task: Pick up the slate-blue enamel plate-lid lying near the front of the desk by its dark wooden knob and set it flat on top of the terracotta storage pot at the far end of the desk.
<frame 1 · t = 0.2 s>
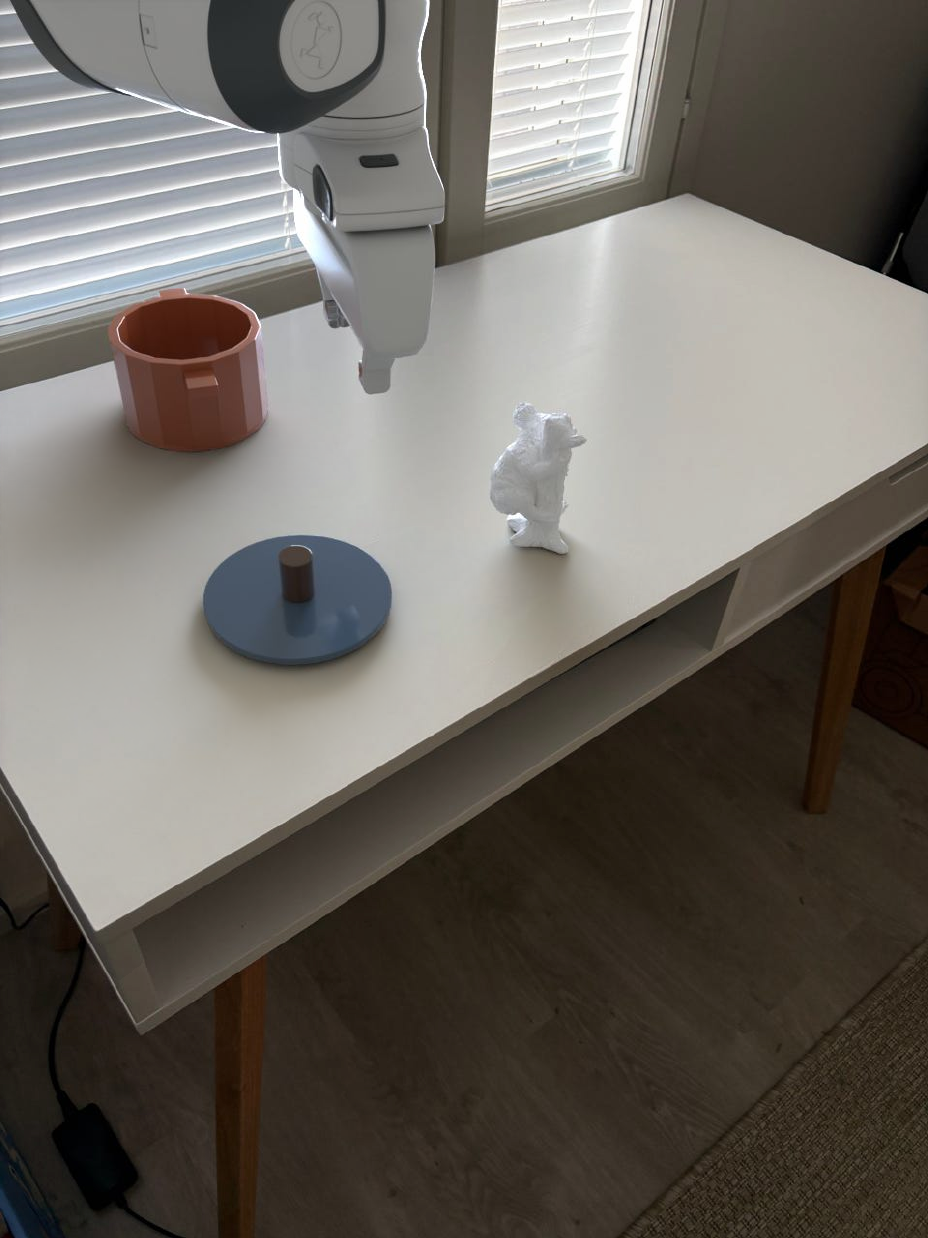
hand: (355, 354, 71), 16 cm above the table, tool pointing down, fingers open, 8 cm apart
koala figurine: (533, 536, 82), on the table
pot: (197, 412, 92), on the table
lid: (298, 598, 74), point 1 cm above the table
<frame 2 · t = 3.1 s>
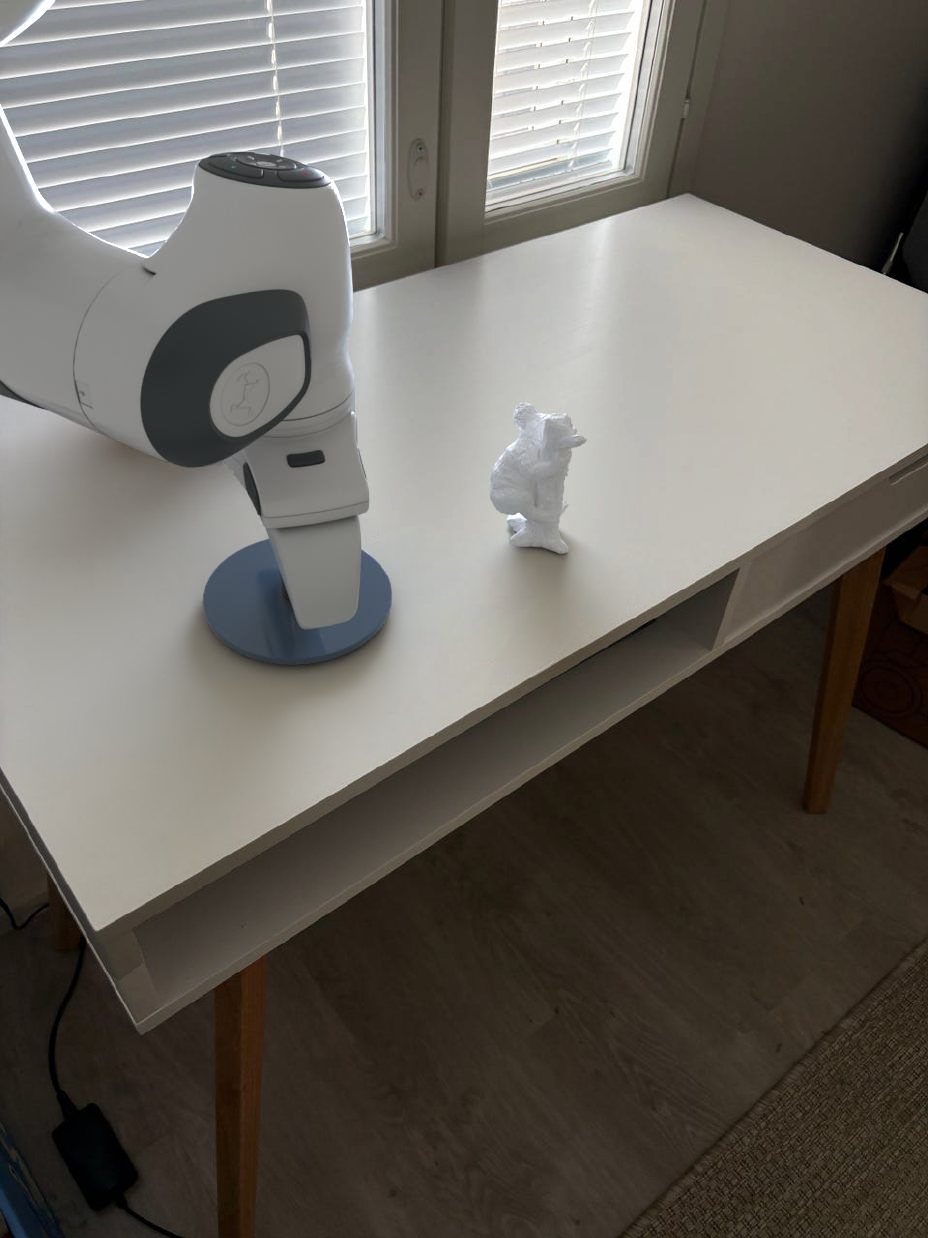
hand: (297, 587, 73), 2 cm above the table, tool pointing down, fingers closed on lid, 2 cm apart
lid: (298, 598, 74), point 1 cm above the table, touching gripper
everything else where it was.
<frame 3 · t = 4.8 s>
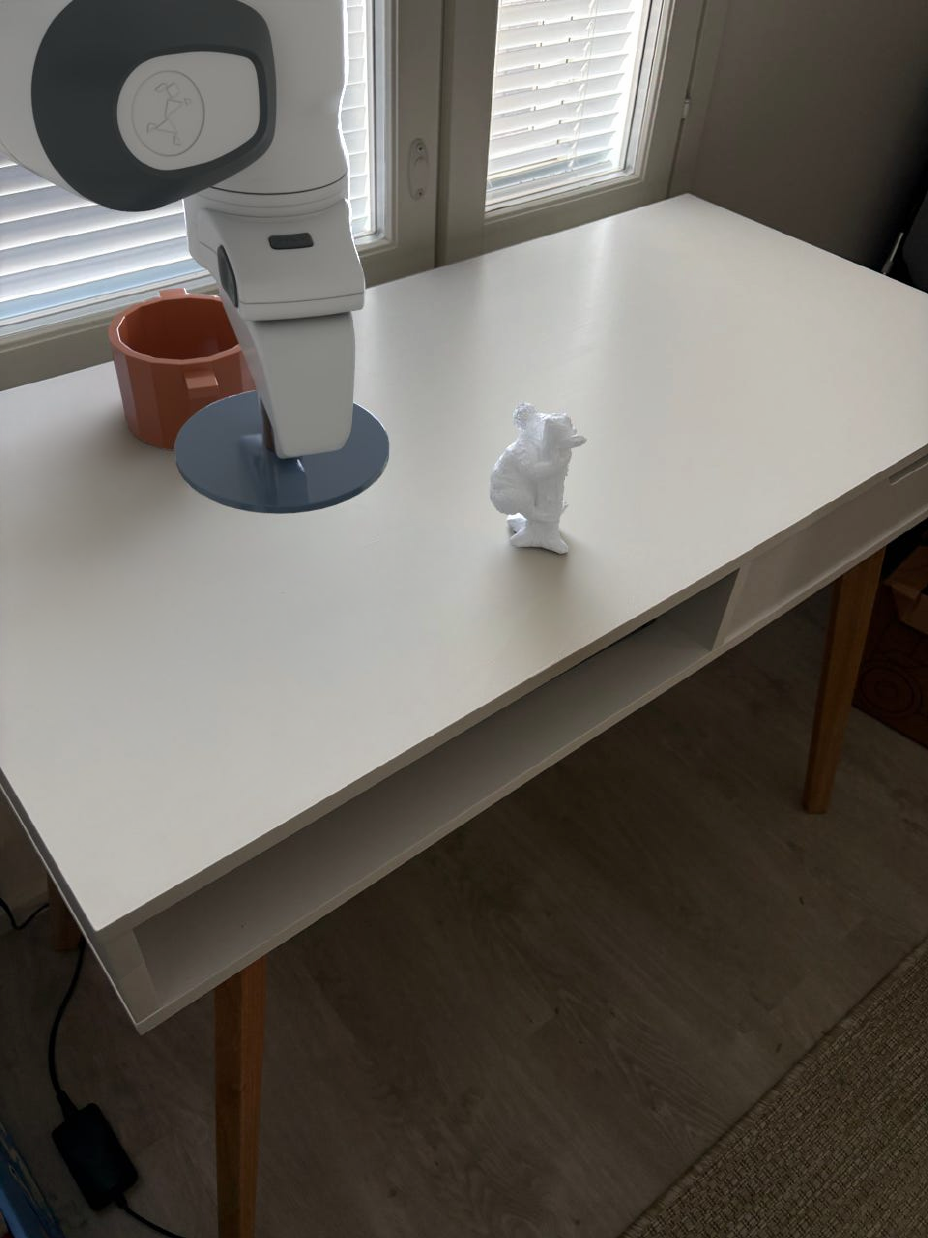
hand: (282, 435, 64), 15 cm above the table, tool pointing down, fingers closed on lid, 2 cm apart
lid: (283, 450, 65), point 13 cm above the table, touching gripper
everything else where it was.
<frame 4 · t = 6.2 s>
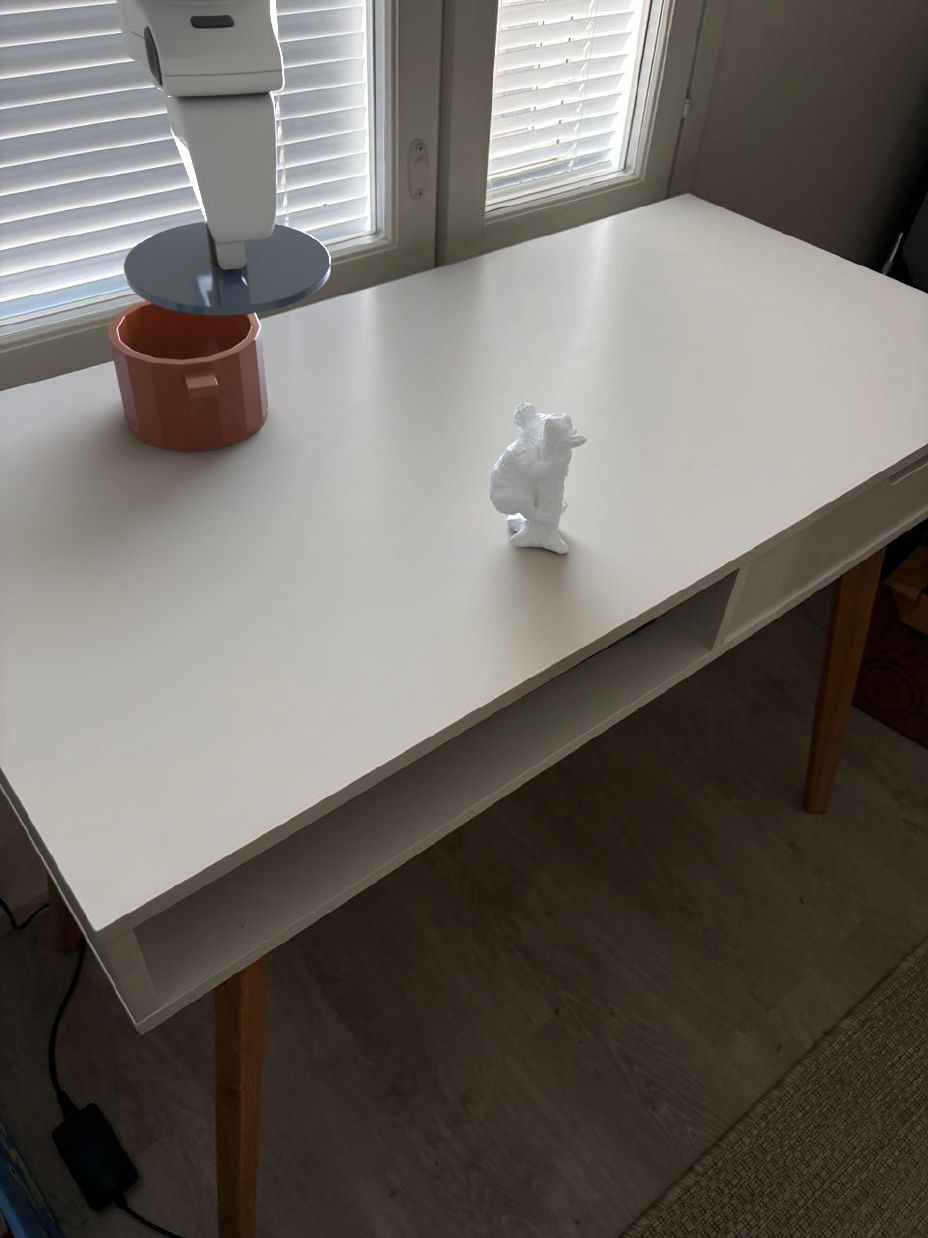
hand: (226, 252, 67), 22 cm above the table, tool pointing down, fingers closed on lid, 2 cm apart
lid: (229, 268, 68), point 20 cm above the table, touching gripper
everything else where it was.
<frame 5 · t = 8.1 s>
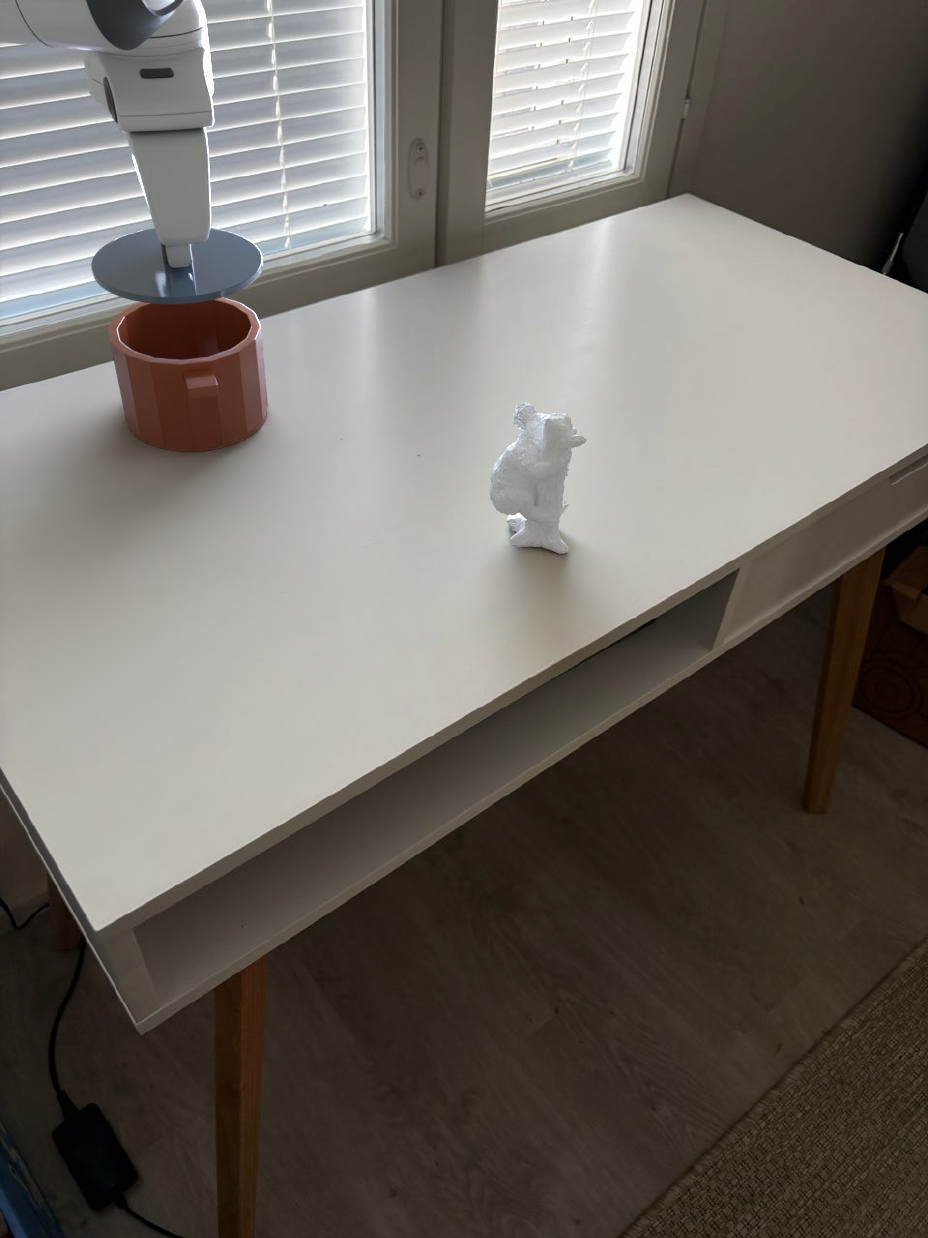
hand: (176, 253, 82), 15 cm above the table, tool pointing down, fingers closed on lid, 2 cm apart
lid: (179, 266, 83), point 14 cm above the table, touching gripper
everything else where it was.
when the fingers open (10 cm above the table, at t = 9.7 s): lid stays where it is, resting on pot.
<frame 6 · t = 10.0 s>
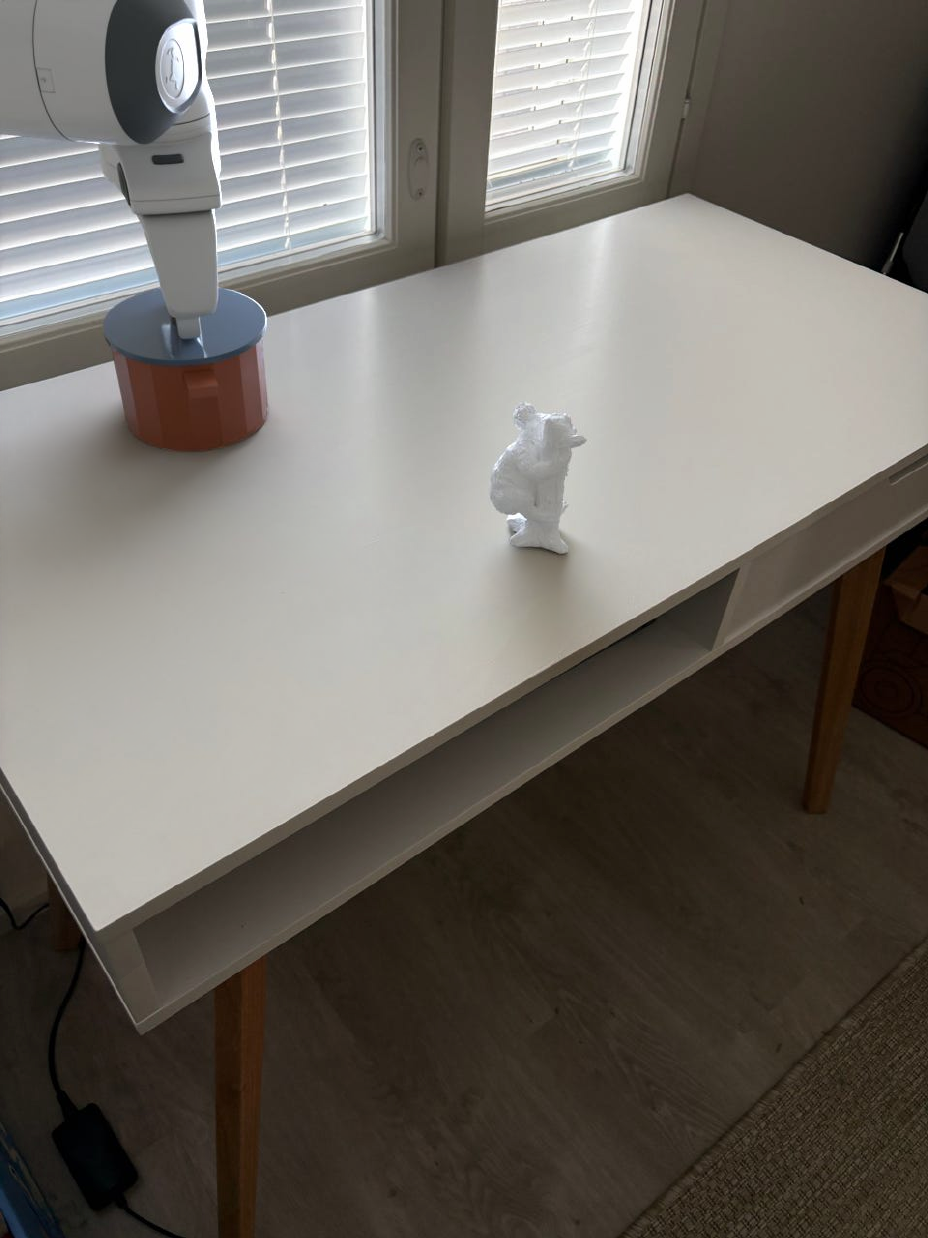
hand: (183, 317, 86), 9 cm above the table, tool pointing down, fingers open, 5 cm apart
lid: (186, 326, 87), point 8 cm above the table, touching pot
everything else where it was.
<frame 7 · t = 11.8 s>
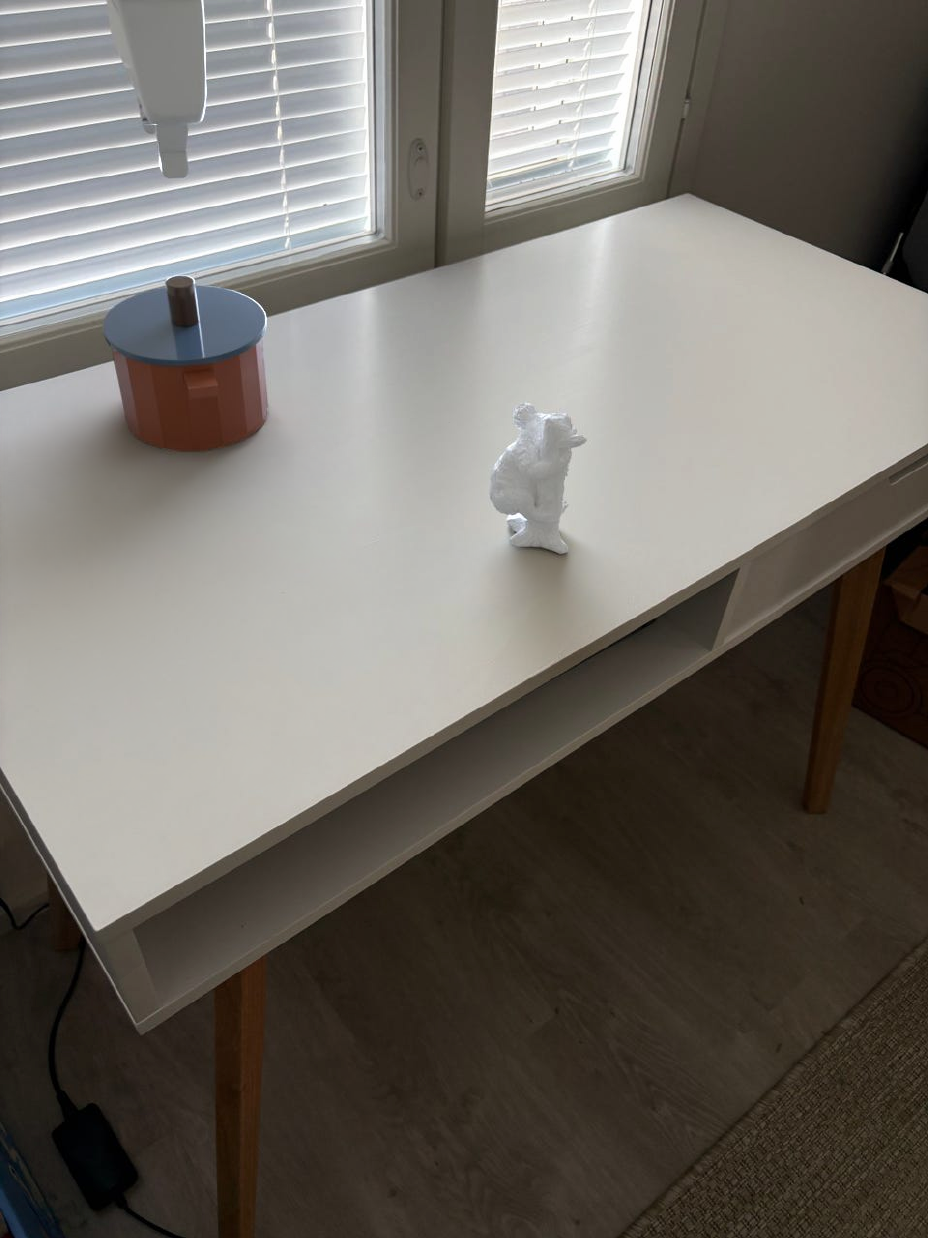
hand: (164, 151, 74), 24 cm above the table, tool pointing down, fingers open, 8 cm apart
nothing on the table moved.
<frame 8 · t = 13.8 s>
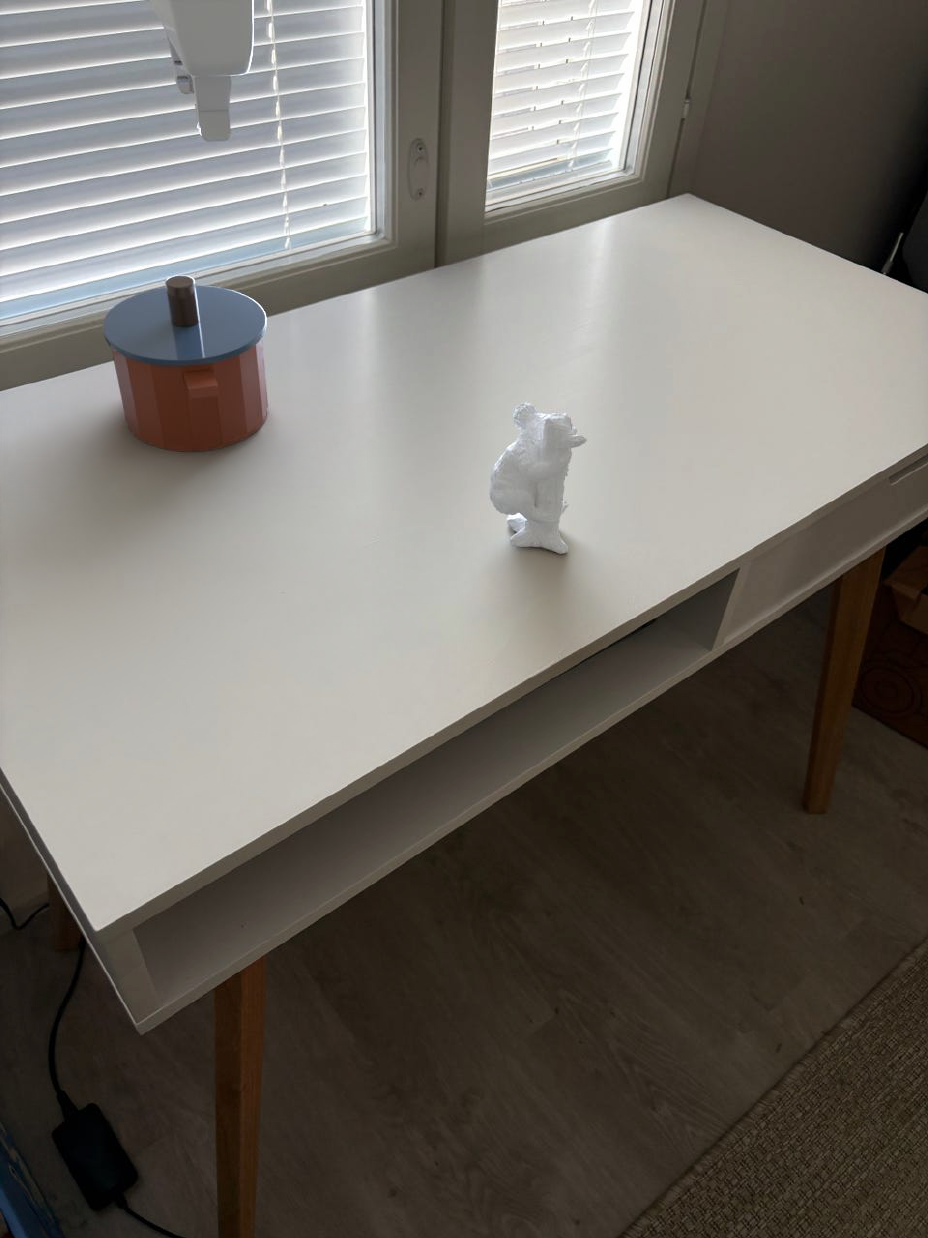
hand: (202, 112, 65), 29 cm above the table, tool pointing down, fingers open, 8 cm apart
nothing on the table moved.
at the end: lid 0.1 cm off-centre on the pot, point 8.5 cm above the pot's base; lid tilted 0°; the gripper is holding nothing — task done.
